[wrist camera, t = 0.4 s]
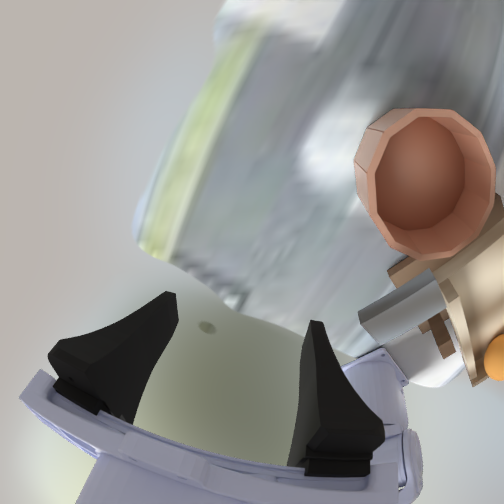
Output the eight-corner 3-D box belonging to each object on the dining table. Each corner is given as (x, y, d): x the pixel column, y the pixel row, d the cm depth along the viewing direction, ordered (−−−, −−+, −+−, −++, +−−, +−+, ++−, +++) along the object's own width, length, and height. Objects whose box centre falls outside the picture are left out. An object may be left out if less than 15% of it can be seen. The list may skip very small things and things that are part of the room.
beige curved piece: (507, 307, 17) (529, 347, 13) (415, 366, 23) (427, 411, 18) (489, 185, 12) (542, 229, 7) (350, 284, 17) (366, 352, 13)
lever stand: (511, 262, 18) (547, 305, 12) (420, 327, 24) (438, 383, 18) (494, 192, 16) (544, 227, 10) (387, 270, 22) (409, 330, 15)
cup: (480, 191, 16) (509, 210, 13) (396, 253, 21) (411, 283, 17) (425, 85, 14) (453, 81, 10) (328, 156, 18) (334, 167, 15)
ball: (511, 337, 15) (526, 370, 11) (479, 360, 17) (491, 394, 13) (512, 316, 13) (531, 352, 10) (476, 342, 15) (492, 381, 12)
